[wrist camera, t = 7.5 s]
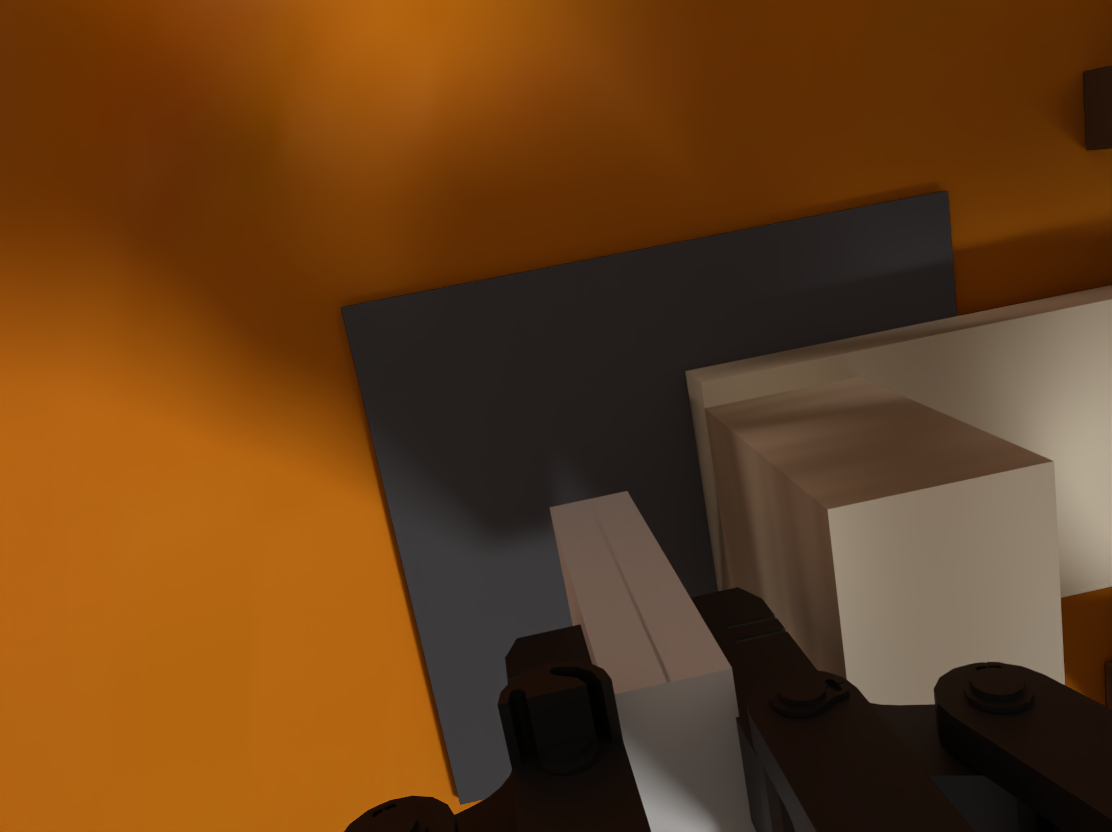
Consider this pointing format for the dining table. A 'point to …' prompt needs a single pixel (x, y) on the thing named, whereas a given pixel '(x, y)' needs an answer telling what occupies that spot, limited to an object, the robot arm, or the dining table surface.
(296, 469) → the dining table surface
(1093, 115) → the tunnel
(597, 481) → the dark grey square plate
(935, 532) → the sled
